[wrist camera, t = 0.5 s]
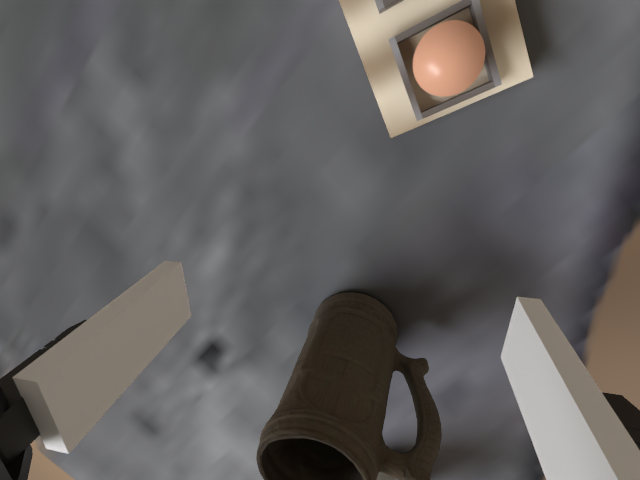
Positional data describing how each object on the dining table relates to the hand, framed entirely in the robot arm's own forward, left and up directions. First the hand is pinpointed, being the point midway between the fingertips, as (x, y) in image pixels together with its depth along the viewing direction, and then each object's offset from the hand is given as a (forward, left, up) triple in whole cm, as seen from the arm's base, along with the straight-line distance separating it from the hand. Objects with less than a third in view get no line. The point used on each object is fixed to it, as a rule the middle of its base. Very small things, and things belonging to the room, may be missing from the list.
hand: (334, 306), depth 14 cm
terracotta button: (-7, +9, -21) cm, 23 cm away
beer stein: (+18, -8, -26) cm, 33 cm away
